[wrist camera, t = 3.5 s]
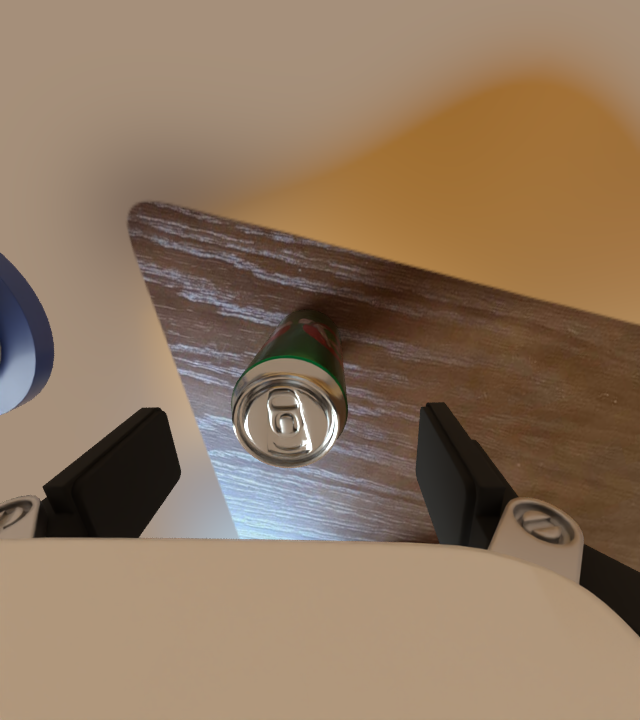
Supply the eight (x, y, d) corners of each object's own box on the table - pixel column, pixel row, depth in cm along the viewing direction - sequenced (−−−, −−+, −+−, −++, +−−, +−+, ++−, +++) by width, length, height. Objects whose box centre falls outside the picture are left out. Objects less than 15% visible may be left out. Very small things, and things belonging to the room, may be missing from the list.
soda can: (279, 372, 24) (233, 477, 13) (272, 310, 22) (210, 368, 11) (341, 368, 24) (351, 474, 12) (339, 306, 22) (347, 361, 11)
